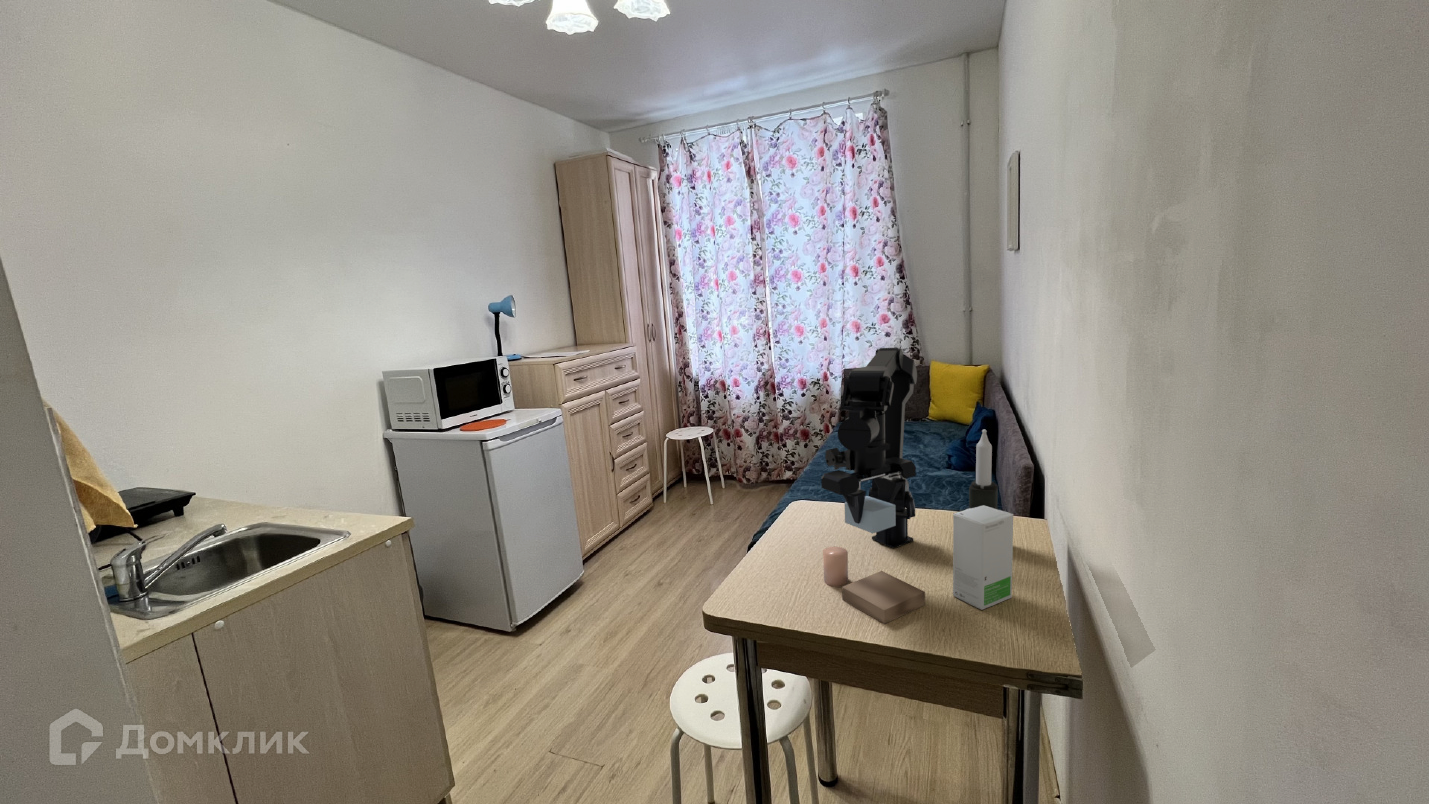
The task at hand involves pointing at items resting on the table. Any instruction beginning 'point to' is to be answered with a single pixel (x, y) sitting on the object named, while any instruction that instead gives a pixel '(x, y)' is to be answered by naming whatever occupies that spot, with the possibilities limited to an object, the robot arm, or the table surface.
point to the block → (873, 515)
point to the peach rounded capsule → (835, 566)
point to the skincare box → (982, 556)
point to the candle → (983, 477)
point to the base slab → (883, 596)
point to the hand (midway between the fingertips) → (870, 519)
